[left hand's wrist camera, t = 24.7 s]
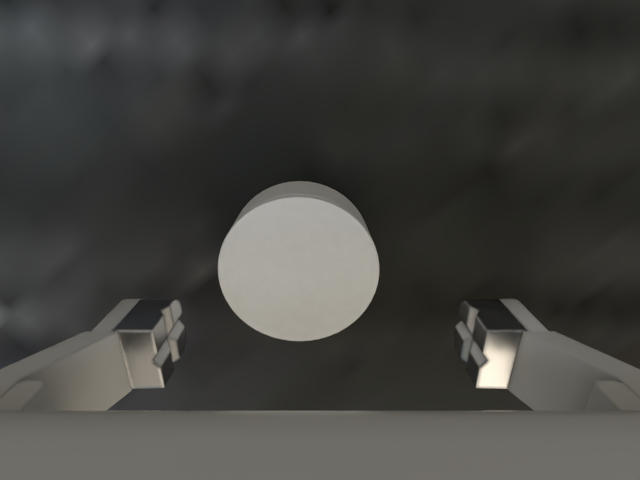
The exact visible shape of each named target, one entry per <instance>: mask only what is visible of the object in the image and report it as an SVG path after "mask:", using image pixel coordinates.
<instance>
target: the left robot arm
mask: <svg viewBox="0 0 640 480" xmlns="http://www.w3.org/2000/svg"><path fill="white" fill-rule="evenodd" d="M181 314H182V308H181V303H180V302H179V301H178V300H172V299H124V300H122V301H121V302H120V303H119V304H118V305H117V306H116V307H115V308H114V309H113V310H112V311H111V312H110V313H109V314H108V315H107V316H106V317H105V318H104V319H103V320H102V321H101V322H100V323H99V324H98V325H97V326H96V327H95V328H94V329H93V330H92V331H85V332H83V333H81V334H78V335H76V336H74V337H72V338H69V339H67V340H65V341H63V342H60V343H58V344H56V345H54V346H51V347H49V348H47V349H45V350H42V351H40V352H38V353H36V354H33V355H31V356H29V357H27V358H24V359H22V360H20V361H18V362H15V363H13V364H11V365H9V366H6V367H4V368H2V369H0V480H640V369H638V368H636V367H633V366H631V365H629V364H627V363H624V362H622V361H620V360H618V359H615V358H613V357H611V356H609V355H607V354H604V353H602V352H600V351H598V350H595V349H593V348H591V347H589V346H586V345H584V344H582V343H580V342H577V341H575V340H573V339H571V338H568V337H566V336H564V335H562V334H559V333H557V332H555V331H548V330H547V329H546V328H545V327H544V326H543V325H542V324H541V323H540V322H539V321H538V320H537V319H536V318H535V317H534V316H533V315H532V314H531V313H530V312H529V311H528V310H527V309H526V308H525V307H524V306H523V305H522V304H521V303H520V302H519V301H518V300H516V299H485V300H461V302H460V304H459V307H458V314H459V316H460V318H461V319H462V320H461V321H460V322H459V323H458V324H457V325H456V326H455V332H454V342H455V348H456V351H457V353H458V355H459V357H460V359H462V360H463V361H465V362H466V363H467V368H466V370H467V372H468V374H469V376H470V378H471V380H472V381H473V383H474V385H475V387H476V388H501V389H508V390H509V391H510V392H511V393H512V394H514V395H515V396H516V397H517V398H519V399H520V400H521V401H523V402H524V403H525V404H526V405H528V406H529V407H530V408H531V409H533V410H534V411H106V410H107V409H109V408H110V407H111V406H112V405H114V404H115V403H116V402H118V401H119V400H120V399H121V398H123V397H124V396H125V395H126V394H128V393H129V392H130V391H132V389H138V388H164V387H165V385H166V383H167V381H168V380H169V378H170V376H171V374H172V372H173V370H174V368H173V363H174V362H175V361H177V360H178V359H180V357H181V355H182V353H183V351H184V347H185V343H186V331H185V326H184V325H183V324H182V323H181V322H180V321H179V320H178V319H179V318H180V316H181Z"/></svg>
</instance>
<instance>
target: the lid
mask: <svg viewBox="0 0 640 480" xmlns="http://www.w3.org/2000/svg"><path fill="white" fill-rule="evenodd" d="M218 277H219V282H220V286H221V289H222V292H223V295H224V297H225V299H226V301H227V303H228V304H229V306H230V307H231V308H232V310H233V311H234V312H235V313H236V314H237V316H238V317H239V318H240V319H242V320H243V321H244V322H245V323H246V324H248V325H249V326H251V327H252V328H254V329H255V330H257V331H259V332H261V333H263V334H266V335H268V336H271V337H274V338H278V339H282V340H289V341H310V340H316V339H321V338H324V337H328V336H330V335H333V334H335V333H337V332H339V331H341V330H343V329H345V328H346V327H348V326H349V325H350V324H352V323H353V322H354V321H355V320H357V319H358V318H359V317H360V316H361V315H362V313H363V312H364V311H365V310H366V308H367V307H368V305H369V304H370V302H371V300H372V298H373V296H374V294H375V291H376V288H377V285H378V279H379V260H378V254H377V251H376V248H375V245H374V242H373V240H372V238H371V236H370V233H369V231H368V229H367V226H366V224H365V222H364V220H363V218H362V216H361V214H360V213H359V211H358V210H357V208H356V207H355V206H354V205H353V204H352V202H351V201H349V200H348V199H347V198H346V197H345V196H344V195H342V194H341V193H339V192H337V191H336V190H334V189H332V188H330V187H328V186H325V185H322V184H319V183H313V182H306V181H294V182H286V183H281V184H278V185H275V186H272V187H270V188H268V189H266V190H264V191H262V192H261V193H259V194H258V195H256V196H255V197H254V198H253V199H251V200H250V201H249V202H248V203H247V205H246V206H245V207H244V208H243V209H242V211H241V213H240V214H239V216H238V218H237V219H236V221H235V223H234V224H233V226H232V227H231V229H230V231H229V232H228V234H227V236H226V237H225V239H224V242H223V244H222V247H221V250H220V254H219V259H218Z"/></svg>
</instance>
